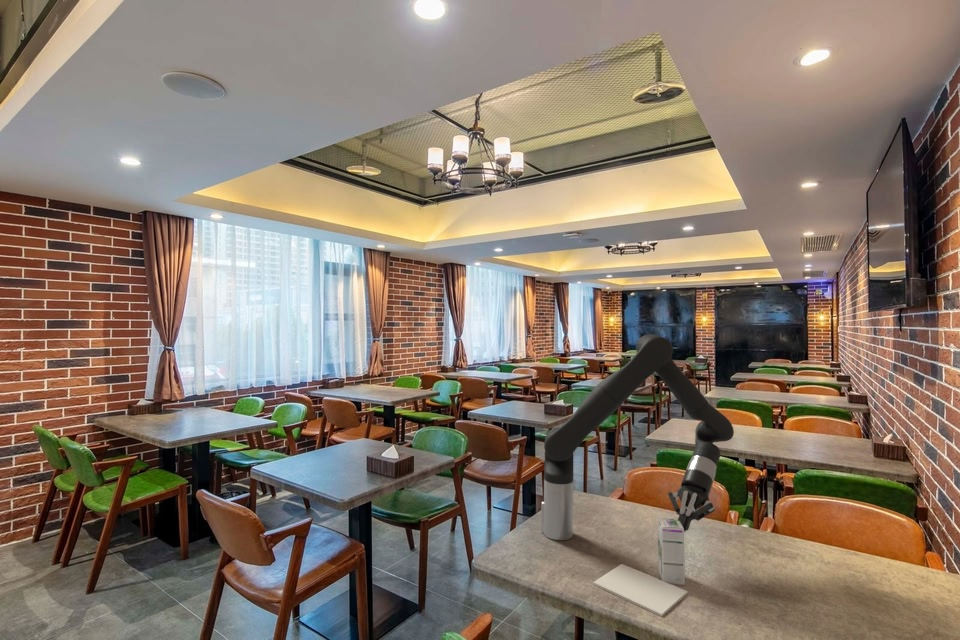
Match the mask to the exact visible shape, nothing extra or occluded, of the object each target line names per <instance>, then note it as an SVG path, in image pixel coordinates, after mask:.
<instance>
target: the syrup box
mask: <svg viewBox="0 0 960 640" xmlns="http://www.w3.org/2000/svg"><path fill="white" fill-rule="evenodd" d="M657 542H658V543H657V546H658V547H657V548H658V549H657V550H658V551H657V553H658V554H657V555H658V556H657V557H658V559H657V560H658V562H657V565H658V568H657V569H658V574H659V577H660V580H662V581H664V582H666V583H669V584H671V585H678V586H679V585H681V586H685V584H686V582H685V581H686V580H685V579H686V577H685V576H686V572H685V571H686V570H685V567H686V566H685V563H686V561H685V558H686V557H685V532H684V528H683V526H682V525H681V523H680V521H679V520H678V519H674V518H659V517H658V518H657Z"/></svg>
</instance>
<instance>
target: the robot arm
mask: <svg viewBox="0 0 960 640" xmlns="http://www.w3.org/2000/svg"><path fill="white" fill-rule="evenodd" d="M635 349H636V353H635V355H634V356H633V357H632V358H631V359H630V360H629V361H628V362H627V364H624V366H622V367H621V368H619V369H617V370H616V371H614V372H613V373H611V374H610V375H608V376H606V377H605V378H604V379H603V380H601V381H600V382H599V383H598V384H597V385H596V386H595V387H593V389H592V390H591V391H590V392H589V393H588V394H587V396H586V397H585V398H584V400H582V402H581V403H580V405H579V406H578V408H577V409H576V411H575V412H574V413H573V414H572V415H571V417H569V419H568V420H567V421H566V422H565V423H563V424H562V425H561V426H560V427H553V428H552V429H550V430H549V431H548V432H547V433H546V435H545V438H544V442H543V448H544V468H543V469H544V470H543V472H544V473H543V475H544V476H543V501H541V504H540V505H541V506H540V507H541V509H540V512H541V513H540V518H541V519H540V532H541V533H542V534H543V535H544V536H545V537H546V538H548V539H551V540H555V541H568V540H569V539H572V538H573V536H574V453H575V451H576V450H577V448H578V447H579V446H580V445H581V444H582V443H583V441H584V440H585V439H586V438H587V437H588V435H590V434H591V433H592V432H593V431H594V430H595V429H597V428H598V427H599V426H600V425H602V423H604V422H605V421H606V420H607V419H608V418H610V416H611V415H613V414H614V413H615V412H616V411H617V410H618V409H619V408H620V407H621V405H623V404H624V403H625V402H626V401H627V399H629V398H630V396H632V394H634V392H635V391H636V390H637V389H638V388H639V387H640V386H641V385H642V384H643V383H644V381H646V380H647V379H648V378H650V377H651V376H652V375H653V374H654V373H656V374H657V375H658V376H659V378H660V379H661V380H662V381H663V382H664V384H665V385H666V386H667V388H668V389H669V391H670V393H672V394H673V396H674V398H675V399H676V400H677V402H678V403H679V404H680V406H681V407H682V409H684V411H685V413H686V414H687V415H688V416H689V417H690V418H691V419H692V420H696V421H700V422H698V423H697V425H696V428H695V440H694V442H695V443H694V445H695V446H694V450H693V453H692V455H691V458H690V460H689V462H688V464H687V465H686V470H685V472H684V474H683V475H684V476H683V478H682V480H681V483H680V487H679V488H677V490H676V491H675V492H672V491H669V492H667V493H668V494H667V495H668V497H669V500H670V502H671V505H672V506H673V509H674V511H675V513H676V515H678V518H677V520H679V521H680V523H681V525H682V526H683V528H684V533H686V531H688V530H689V528H690V526H691V522H692V521H693V520H695V521H700V520H702V519H704V518H705V517H706V516H708V515H710V514H712V513H714V512H715V511H716V509H715V506H714V504H713V503H712V502H710V498H709V497H710V493H711V489H712V486H713V483H714V481H715V478H716V473H717V467H718V465H719V461H720V457H721V450H720V448H719V447H718V446H717V445H716V444H714V443H718V442H719V443H720V442H727V441H730V440H731V439H733V437H734V434H735V430H734V426H733V424H732V422H731V421H730V420H729V419H728V418H727V417H726V416H725V415H724V414H723V413H721V412H720V411H719V410H718V409H717V408H715V406H713V405H711V404H710V403H709V402H708V400H707V399H706V398H705V396H704V395H703V394H702V392H701V391H700V389H699V388H698V387H697V386H696V384H695V383H693V382H692V381H691V380H690V378H688V377H687V376H686V375H685V373H684V372H683V371H682V370H681V369H680V368H679V367H678V365H677V364H676V363H675V361H674V360H673V358H672V356H673V353H674V352H673V351H674V348H673V345H672V343H671V341H670V340H669V339H668V338H666V337H663V336H660V335H658V334H654V333H653V334H652V333H650V334H649V333H648V334H645V335H643V336H641V337H640V338H639V339H638V341H637V342H636V348H635ZM678 500H679V501H680V502H681V503H680V506H679V505H678Z"/></svg>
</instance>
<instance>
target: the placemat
mask: <svg viewBox="0 0 960 640" xmlns="http://www.w3.org/2000/svg"><path fill="white" fill-rule="evenodd" d="M592 584H593V586H595V587H596V588H597V587H598V589H599V588H600V589H602V590H604V591H606V592H608V593H610V594H612V595H615V596H617V597H619V598H621V599H623V600H625V601H627V602H630V603H632V604H633V605H635V606H637V607H640V608H641V609H644V610H646V611H648V612H649V613H650V612H651V613H653V614H654V615H657V616H658V617H661V618H662V617H663V616H665V615H666V614H667V613H668V612H669V611H671V609H672V608H674V606H676V604H679V602H680V601H681V600H682V599H684V598H685V597H686V596H687V595H688V594H689V593H688V590H685V589H683V588H681V587H680V586H679V587H678V586H676V585H675V584H670V583H666V582H664V581H662V580H661V579H659V578H657V577H654V576H652V575H649V574H647V573H644V572H643V571H640V570H637V569H634V568H633V567H629V565H626V564H623V563H621V564H619V565H617V566H616V567H615V568H613V569H612V570H610V571H609V572H607V573H605V574H604V575H602V576H600V577H599V578H598V579H596V580H594V581H593V582H592Z"/></svg>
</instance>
